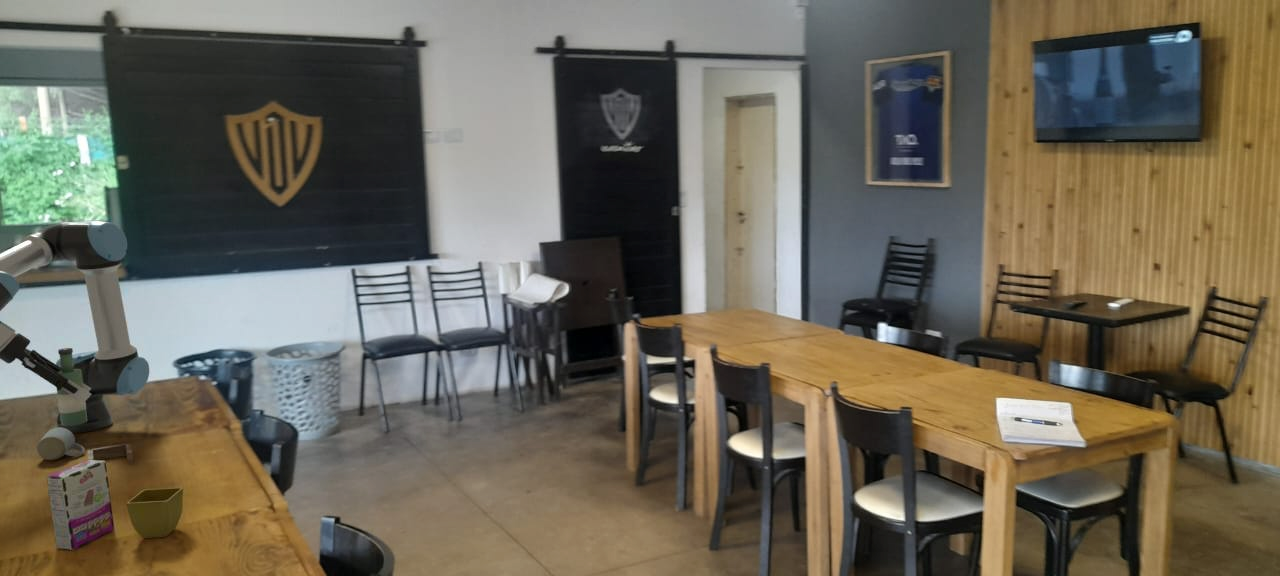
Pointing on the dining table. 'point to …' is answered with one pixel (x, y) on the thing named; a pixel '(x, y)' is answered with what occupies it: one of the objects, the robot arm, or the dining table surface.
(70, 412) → the bottle
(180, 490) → the flower pot
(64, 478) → the candy bar box
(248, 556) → the dining table surface
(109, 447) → the u rest
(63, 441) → the ceramic mug
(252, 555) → the dining table surface
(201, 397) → the dining table surface
